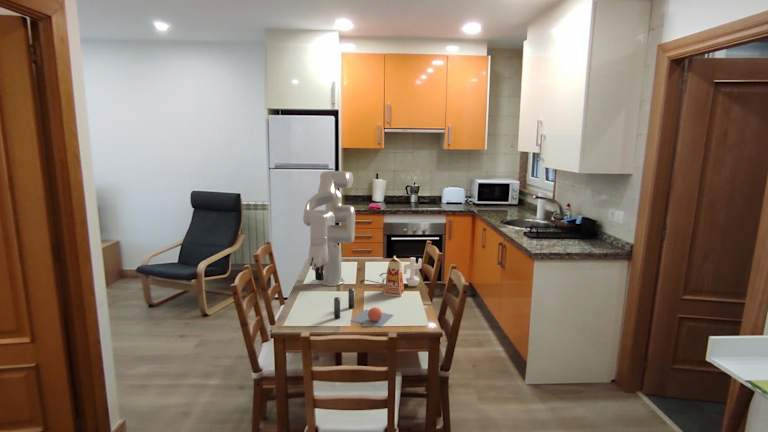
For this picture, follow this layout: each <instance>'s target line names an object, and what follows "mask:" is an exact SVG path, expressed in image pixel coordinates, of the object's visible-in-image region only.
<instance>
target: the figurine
mask: <svg viewBox="0 0 768 432" xmlns="http://www.w3.org/2000/svg"><path fill="white" fill-rule="evenodd" d="M409 261H410V262H409V263H404V265H403V274H404V275H407V274H408V270H409V275H407V276H404V278H405V281H406V283H407V285H408V287H417V286H418V285H419V284H420V282H421V280H420V278H419V276H418V275H416V271H415V270H420V269H422V264H423V263H422V258H418V262H417V263H416V257H410V258H409Z"/></svg>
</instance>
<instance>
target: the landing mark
mask: <svg viewBox="0 0 768 432" xmlns="http://www.w3.org/2000/svg"><path fill="white" fill-rule="evenodd" d="M369 310H370V309H364V310H363V311H361V312H360V313H359V314H358V315H356V316H355V317H354V318H352V319H350V322H354V323H357V324H362V325H367V326H373V327H379V328H382V327H383V326H384V325H385V324H386V323H387V322H388V321H389V320H390V319H392V317H393V316H394V314H391V313H386V312H382V317H381V319H380V320H379V321H376V322H373V321H371V320H370V319H369V317H368V312H369Z"/></svg>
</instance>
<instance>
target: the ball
mask: <svg viewBox="0 0 768 432" xmlns="http://www.w3.org/2000/svg"><path fill="white" fill-rule="evenodd" d="M368 310H369V312H368V317H369V319H370V320H371V321H373V322H376V321H379V320H380V319H381V317H382V313H383V312H382V310H381V309H380V308H379V307H376V306H375V307H374V306H373V307H371V308H370V309H368Z"/></svg>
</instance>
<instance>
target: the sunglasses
mask: <svg viewBox="0 0 768 432" xmlns="http://www.w3.org/2000/svg"><path fill="white" fill-rule="evenodd" d="M384 274H386V275H387V272H382V273H380V274H379V276H380V277H381V276H382V275H384ZM364 281H367V282H371V283H376V284H380V285H382V286H383V287H385V284H384V283H385V281H386V277H384V278H382V280H381V282H379V281H374V280H370V279H362V280H360V283H362V282H364Z"/></svg>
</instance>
